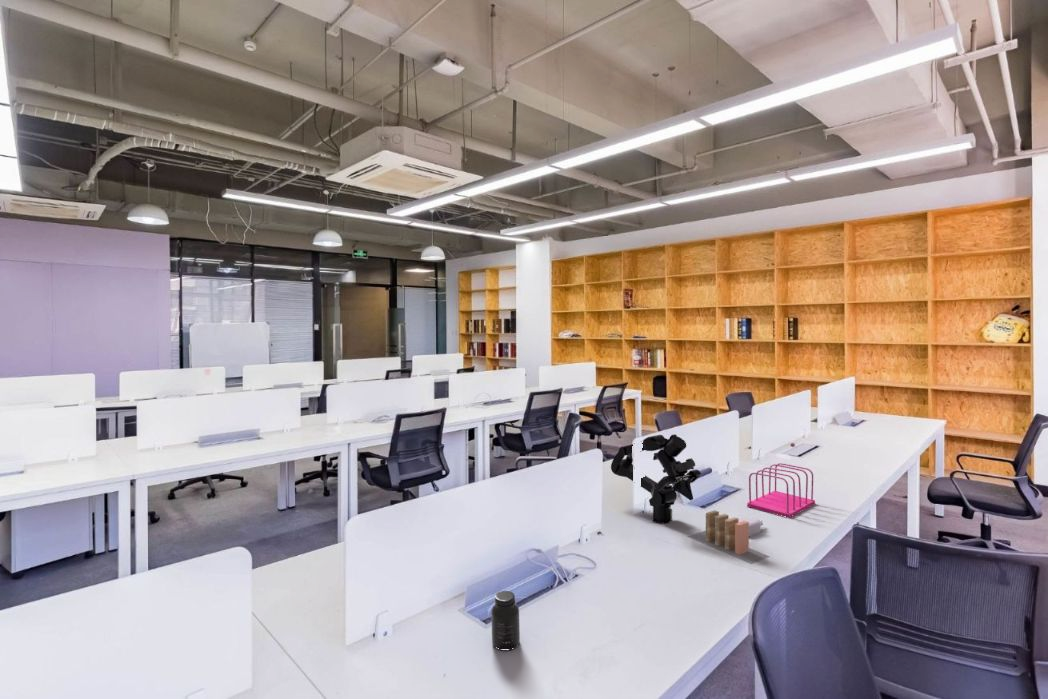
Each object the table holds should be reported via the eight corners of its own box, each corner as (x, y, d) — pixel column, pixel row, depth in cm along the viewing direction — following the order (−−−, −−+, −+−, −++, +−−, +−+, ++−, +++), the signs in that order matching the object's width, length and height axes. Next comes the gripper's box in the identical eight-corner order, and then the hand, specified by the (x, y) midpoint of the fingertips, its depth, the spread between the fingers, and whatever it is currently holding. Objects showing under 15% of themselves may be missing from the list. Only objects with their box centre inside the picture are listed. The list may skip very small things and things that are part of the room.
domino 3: (724, 548, 178) (724, 520, 177) (734, 545, 180) (734, 517, 180) (728, 550, 176) (728, 521, 176) (738, 547, 179) (738, 518, 178)
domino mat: (687, 538, 189) (687, 536, 189) (705, 532, 194) (705, 530, 194) (751, 565, 166) (751, 564, 166) (770, 558, 172) (770, 556, 172)
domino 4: (734, 553, 174) (735, 523, 174) (744, 549, 177) (744, 520, 176) (739, 554, 173) (739, 525, 172) (748, 551, 176) (748, 522, 175)
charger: (771, 530, 195) (744, 539, 187) (749, 522, 203) (723, 530, 195) (771, 518, 195) (745, 526, 187) (749, 510, 203) (723, 518, 195)
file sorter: (746, 507, 220) (746, 470, 219) (774, 494, 236) (774, 460, 235) (789, 518, 206) (789, 479, 206) (815, 504, 222) (815, 468, 222)
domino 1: (705, 540, 185) (705, 513, 184) (715, 537, 187) (715, 510, 187) (709, 542, 183) (709, 514, 183) (718, 539, 186) (718, 511, 185)
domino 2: (715, 544, 181) (715, 516, 181) (724, 541, 184) (724, 513, 183) (718, 546, 180) (719, 517, 179) (728, 543, 182) (728, 515, 182)
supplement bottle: (491, 635, 131) (490, 589, 130) (518, 634, 131) (518, 587, 131) (492, 652, 124) (491, 603, 123) (520, 651, 124) (520, 601, 124)
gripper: (663, 455, 191) (686, 493, 182) (697, 448, 201) (721, 484, 192) (647, 471, 198) (669, 508, 190) (681, 464, 208) (704, 499, 199)
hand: (692, 499), depth 192 cm, fingers closed
